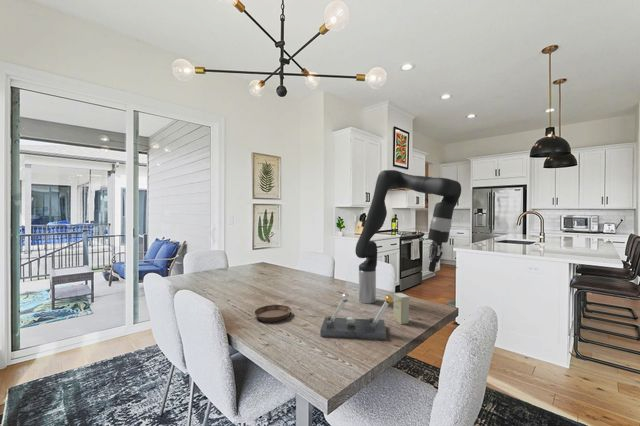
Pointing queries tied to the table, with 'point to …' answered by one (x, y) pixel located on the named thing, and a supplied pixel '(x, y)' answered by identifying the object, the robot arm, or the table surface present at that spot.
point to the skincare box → (401, 308)
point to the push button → (351, 320)
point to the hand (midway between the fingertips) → (431, 271)
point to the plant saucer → (272, 312)
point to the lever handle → (383, 308)
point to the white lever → (344, 299)
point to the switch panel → (353, 329)
